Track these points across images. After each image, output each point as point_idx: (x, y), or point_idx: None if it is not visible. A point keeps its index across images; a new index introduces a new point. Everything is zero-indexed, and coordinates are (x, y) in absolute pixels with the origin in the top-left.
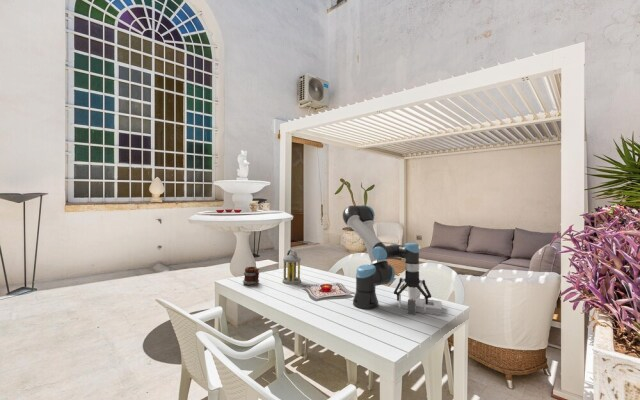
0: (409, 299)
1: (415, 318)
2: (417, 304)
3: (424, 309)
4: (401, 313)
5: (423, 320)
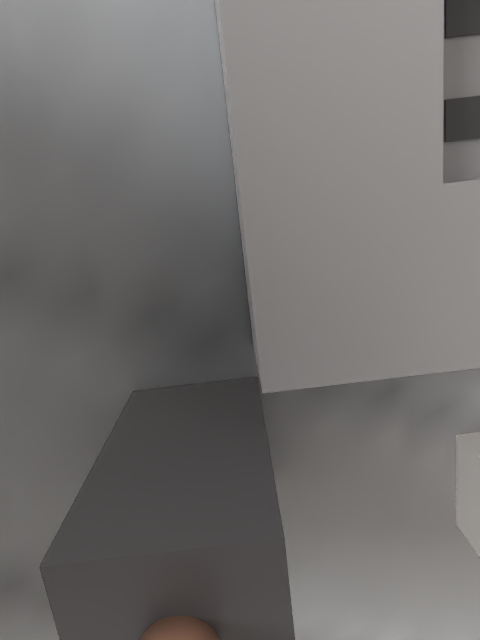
0: (84, 569)
1: (298, 601)
2: (295, 289)
3: (472, 538)
4: None
5: (408, 613)
